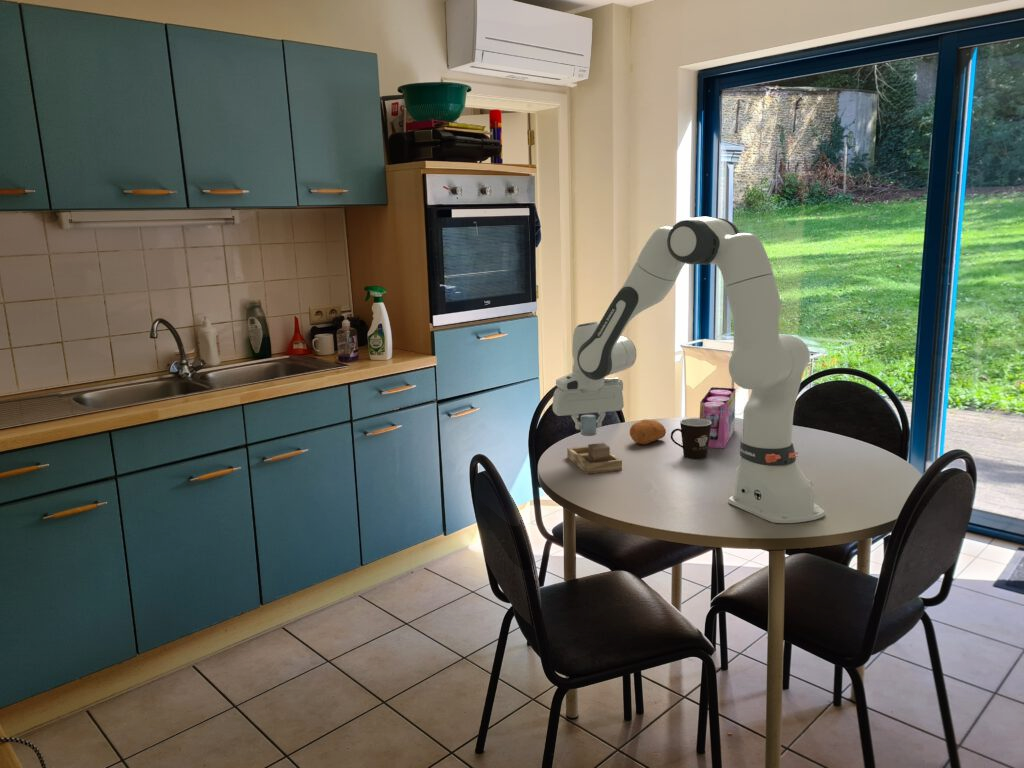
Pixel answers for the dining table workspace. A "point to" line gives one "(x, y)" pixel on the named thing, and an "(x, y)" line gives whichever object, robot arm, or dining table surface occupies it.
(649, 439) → the potato
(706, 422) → the coffee mug
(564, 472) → the dining table surface
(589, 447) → the walnut block
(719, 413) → the gum box
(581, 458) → the wooden tray
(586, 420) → the grey capsule
